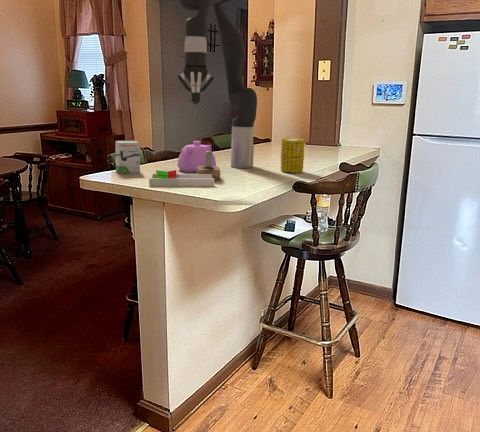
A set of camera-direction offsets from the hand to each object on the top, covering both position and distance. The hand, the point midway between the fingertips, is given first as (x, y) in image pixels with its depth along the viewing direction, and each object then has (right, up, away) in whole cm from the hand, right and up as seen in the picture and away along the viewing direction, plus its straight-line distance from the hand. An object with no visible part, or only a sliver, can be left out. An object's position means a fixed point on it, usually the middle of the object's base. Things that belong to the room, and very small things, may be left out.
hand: (195, 103), depth 165 cm
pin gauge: (+4, -25, +11) cm, 28 cm away
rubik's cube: (-10, -28, -1) cm, 30 cm away
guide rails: (0, -28, +1) cm, 28 cm away
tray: (-10, -28, 0) cm, 30 cm away
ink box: (-28, -22, +19) cm, 41 cm away
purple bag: (-2, -21, +28) cm, 35 cm away
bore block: (+4, -25, +11) cm, 28 cm away
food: (+37, -21, +31) cm, 53 cm away
